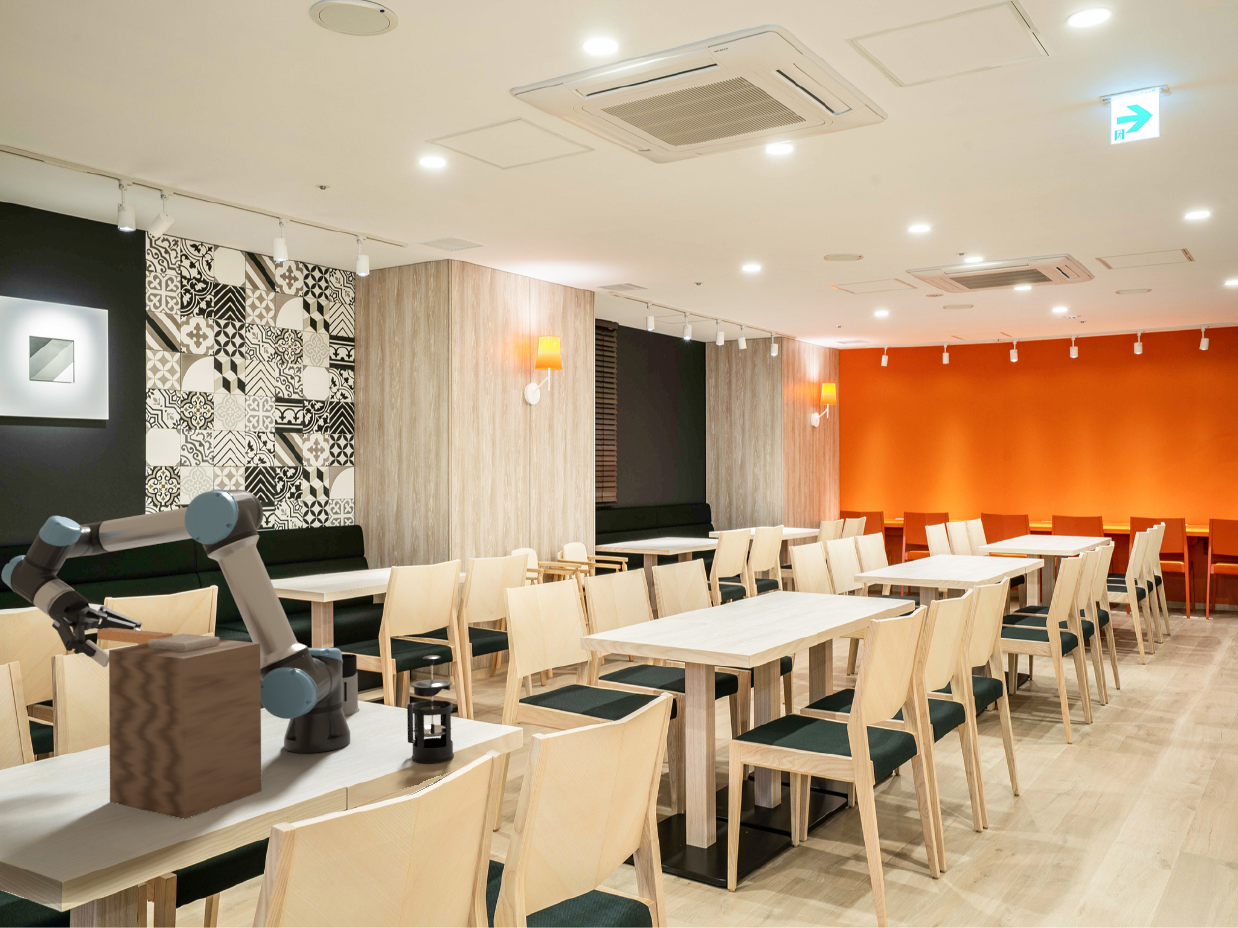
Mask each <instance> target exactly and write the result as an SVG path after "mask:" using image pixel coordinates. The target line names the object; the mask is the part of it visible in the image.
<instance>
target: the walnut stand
mask: <svg viewBox="0 0 1238 928" xmlns="http://www.w3.org/2000/svg"><path fill="white" fill-rule="evenodd" d="M108 654H109V663H108V664H109V665H108V672H109V673H108V676H109V677H108V679H109V681H108V685H109V692H108V693H109V696H108V697H109V700H108V701H109V702H108V703H109V704H108V705H109V706H108V707H109V708H108V709H109V711H108V713H109V715H108V716H109V719H108V720H109V802H110V803H112V802H113V804H116V803H118V804H117V805H121V804H122V805H121V806H125V805H126V807H129V806H130V807H131V808H133V809H134V808H135V809H139V810H144V811H147V812H151V811H152V813H156V812H157V813H156V814H160V813H161V815H164V814H166V815H165V816H169V815H170V817H173V816H174V818H177V817H179V818H178V819H182V818H184V819H183V820H186V818H187V819H189V818H192V817H195V816H197V815H200V814H202V812H203V813H205V812H208V811H210V809H211V810H213V808H214V809H216V808H218V806H219V807H221V805H222V806H224V805H227V804H229V802H230V803H232V802H235V801H237V799H238V800H240V799H243V798H245V796H246V797H247V796H248V797H249V796H251V795H253V794H256V793H259V792H262V703H261V682H262V681H261V675H260V643H253V641H252V642H251V641H250V642H249V641H242V640H240V641H239V640H233V639H232V640H231V639H221V638H219V645H218V646H212V647H207V648H202V649H197V650H192V651H187V652H183V651H174V650H164V649H155V648H148V644H141V645H138V644H136V645H135V644H134V645H129V646H125V647H119V648H118V647H117V648H114V649H113V648H112V649H108ZM242 797H243V798H242ZM234 800H235V801H234ZM226 803H227V804H226ZM194 815H195V816H194ZM191 816H192V817H191ZM188 817H189V818H188Z"/></svg>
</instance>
